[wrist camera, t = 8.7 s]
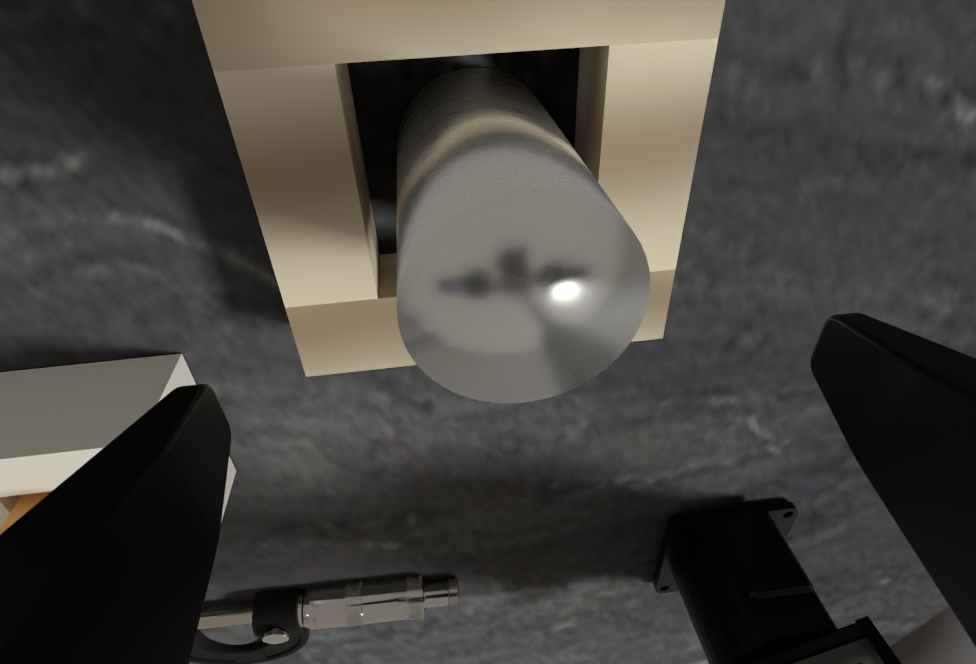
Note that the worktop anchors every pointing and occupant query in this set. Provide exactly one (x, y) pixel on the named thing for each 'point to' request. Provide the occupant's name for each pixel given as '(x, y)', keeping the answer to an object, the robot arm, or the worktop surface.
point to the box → (75, 417)
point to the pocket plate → (438, 33)
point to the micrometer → (317, 615)
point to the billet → (507, 246)
